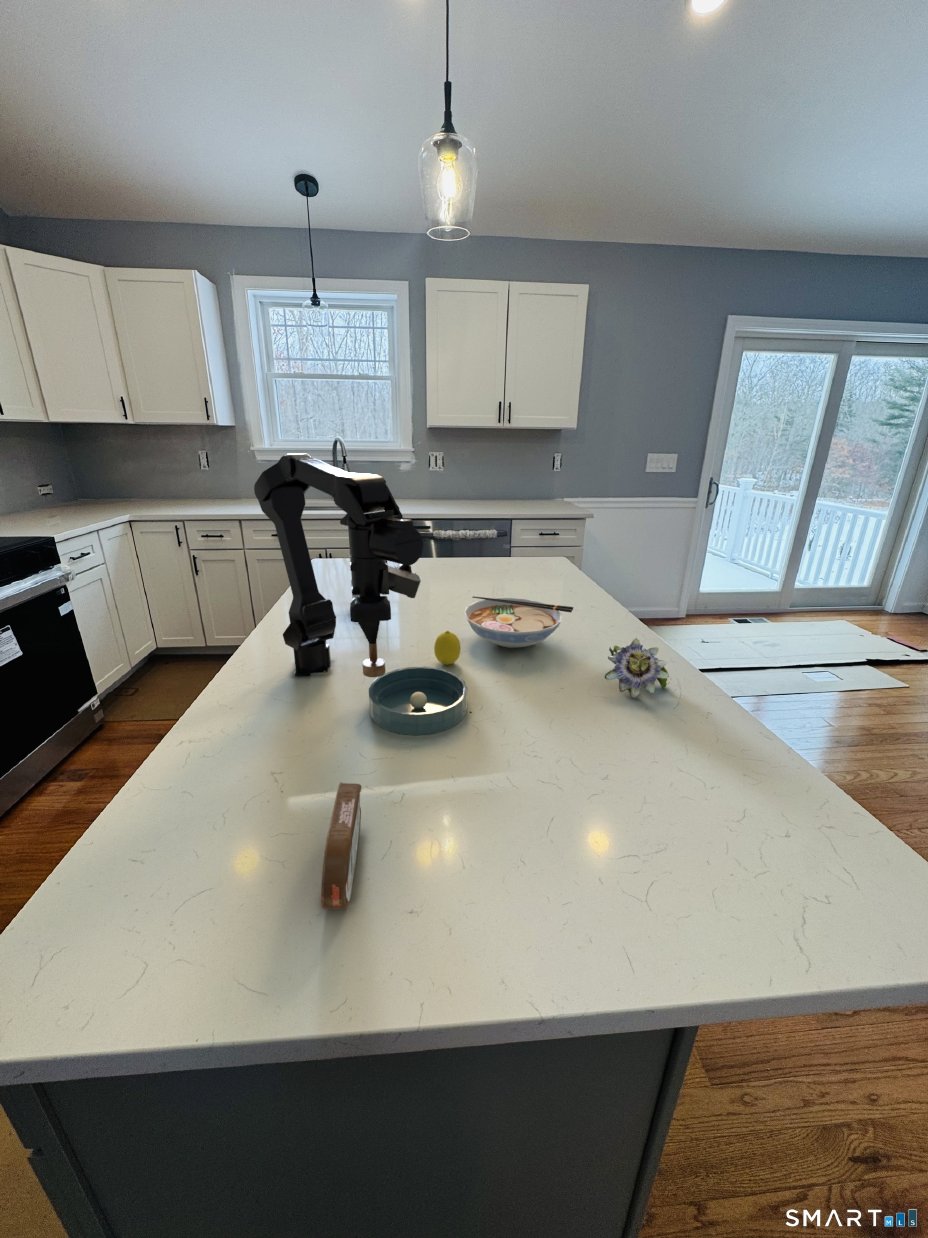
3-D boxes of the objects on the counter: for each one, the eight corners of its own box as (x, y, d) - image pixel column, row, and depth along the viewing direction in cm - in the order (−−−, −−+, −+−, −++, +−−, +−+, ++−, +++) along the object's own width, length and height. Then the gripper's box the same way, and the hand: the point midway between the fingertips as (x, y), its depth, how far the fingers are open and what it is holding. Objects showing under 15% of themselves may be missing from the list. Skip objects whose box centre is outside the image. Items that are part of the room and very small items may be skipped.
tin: (341, 821, 65) (337, 767, 62) (366, 820, 66) (363, 766, 63) (321, 929, 52) (313, 867, 48) (352, 927, 52) (347, 865, 49)
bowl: (371, 743, 82) (369, 718, 80) (369, 691, 97) (367, 670, 96) (475, 733, 85) (476, 709, 83) (457, 684, 100) (457, 663, 99)
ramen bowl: (443, 651, 115) (443, 617, 112) (478, 618, 135) (479, 589, 132) (552, 672, 106) (555, 636, 103) (572, 633, 126) (576, 602, 123)
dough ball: (411, 712, 89) (410, 697, 88) (409, 704, 92) (409, 689, 91) (427, 711, 90) (427, 696, 89) (425, 702, 92) (425, 688, 91)
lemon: (457, 672, 105) (457, 637, 102) (431, 670, 106) (431, 634, 103) (462, 661, 110) (463, 627, 107) (437, 658, 111) (437, 625, 108)
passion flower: (629, 720, 99) (603, 680, 94) (616, 684, 108) (591, 646, 103) (685, 695, 96) (660, 652, 91) (666, 661, 105) (642, 620, 100)
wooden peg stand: (363, 678, 89) (359, 619, 85) (363, 668, 93) (359, 611, 89) (386, 676, 90) (383, 618, 86) (385, 666, 93) (382, 610, 89)
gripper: (422, 567, 76) (424, 661, 82) (411, 541, 93) (413, 620, 99) (346, 570, 74) (353, 666, 80) (350, 543, 91) (355, 623, 97)
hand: (372, 641), depth 89 cm, fingers closed on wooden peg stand
